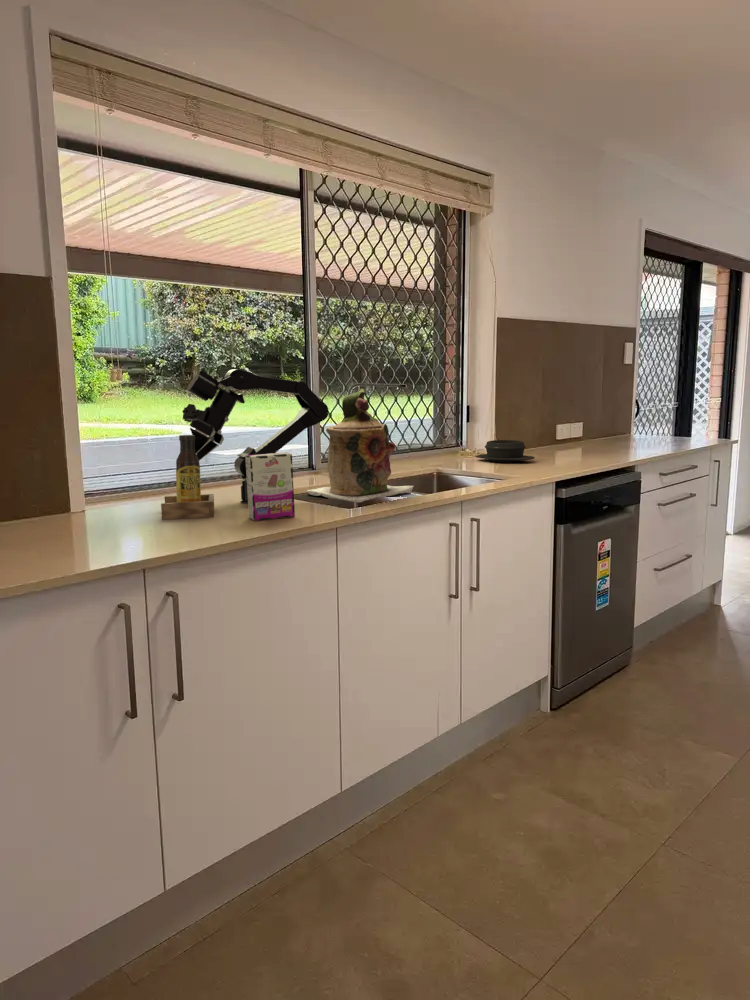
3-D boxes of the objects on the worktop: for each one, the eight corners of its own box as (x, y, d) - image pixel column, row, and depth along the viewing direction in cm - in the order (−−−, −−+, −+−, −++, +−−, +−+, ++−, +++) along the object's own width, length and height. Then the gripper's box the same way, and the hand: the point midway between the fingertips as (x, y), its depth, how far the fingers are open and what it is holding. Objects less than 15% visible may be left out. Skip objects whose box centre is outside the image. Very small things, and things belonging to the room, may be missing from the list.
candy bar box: (288, 513, 186) (286, 451, 183) (295, 517, 181) (293, 453, 178) (247, 518, 180) (244, 454, 178) (253, 521, 176) (250, 456, 173)
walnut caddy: (214, 508, 195) (213, 493, 195) (214, 516, 183) (213, 501, 182) (165, 510, 193) (164, 496, 192) (162, 519, 180) (161, 504, 180)
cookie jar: (303, 495, 215) (299, 389, 209) (357, 485, 233) (355, 388, 228) (363, 504, 199) (361, 389, 194) (416, 492, 217) (416, 387, 212)
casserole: (467, 462, 294) (467, 442, 292) (487, 457, 309) (487, 438, 307) (523, 465, 280) (524, 444, 278) (541, 460, 295) (542, 440, 293)
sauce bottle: (180, 512, 183) (175, 436, 180) (174, 509, 189) (169, 435, 186) (205, 510, 187) (200, 435, 183) (198, 506, 192) (194, 433, 189)
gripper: (201, 402, 205) (174, 449, 204) (187, 389, 187) (158, 440, 185) (234, 420, 205) (209, 467, 204) (224, 408, 187) (196, 460, 186)
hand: (193, 458), depth 195 cm, fingers open, 9 cm apart
